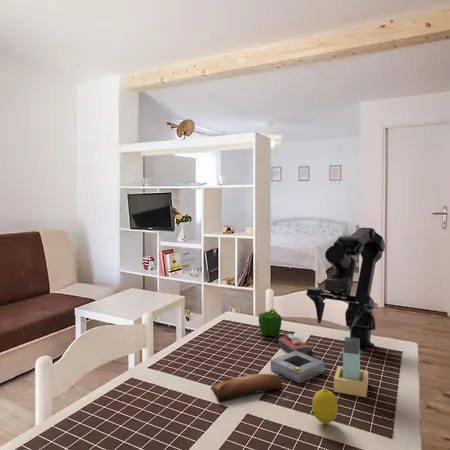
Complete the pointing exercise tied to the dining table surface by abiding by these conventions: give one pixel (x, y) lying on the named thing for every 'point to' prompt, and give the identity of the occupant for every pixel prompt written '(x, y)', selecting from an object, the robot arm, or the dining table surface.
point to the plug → (351, 359)
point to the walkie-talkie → (294, 344)
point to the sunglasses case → (246, 386)
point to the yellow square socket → (351, 383)
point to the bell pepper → (270, 323)
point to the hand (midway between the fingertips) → (334, 326)
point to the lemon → (324, 406)
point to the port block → (297, 374)
